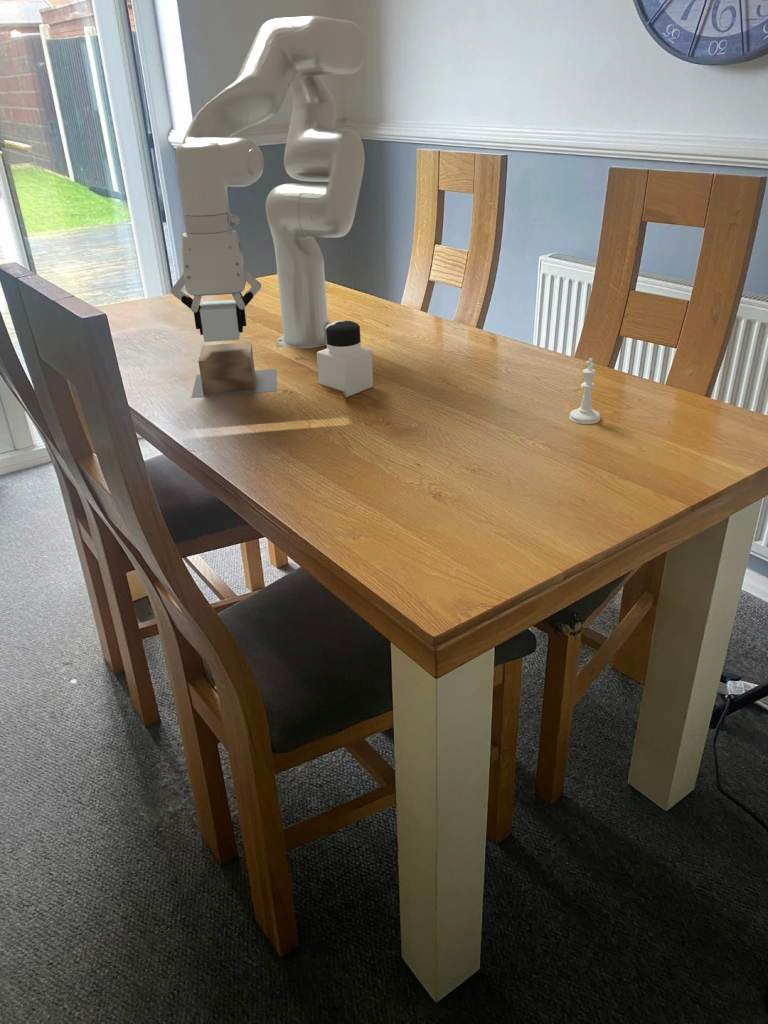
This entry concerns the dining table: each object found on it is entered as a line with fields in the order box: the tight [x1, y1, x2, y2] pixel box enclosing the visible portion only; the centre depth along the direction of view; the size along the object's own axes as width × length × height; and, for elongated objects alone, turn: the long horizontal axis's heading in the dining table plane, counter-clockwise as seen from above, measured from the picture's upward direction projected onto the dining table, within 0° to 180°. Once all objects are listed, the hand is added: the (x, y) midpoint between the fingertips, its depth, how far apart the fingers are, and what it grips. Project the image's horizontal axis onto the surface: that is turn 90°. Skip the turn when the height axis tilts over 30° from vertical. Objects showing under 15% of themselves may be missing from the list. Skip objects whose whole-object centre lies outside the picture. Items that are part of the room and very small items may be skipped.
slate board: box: [190, 368, 278, 399], centre depth 145 cm, size 15×12×1 cm
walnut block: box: [198, 341, 255, 394], centre depth 143 cm, size 9×9×6 cm
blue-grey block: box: [200, 299, 241, 343], centre depth 138 cm, size 6×6×6 cm
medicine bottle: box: [316, 320, 374, 398], centre depth 140 cm, size 7×7×12 cm
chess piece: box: [568, 357, 601, 425], centre depth 125 cm, size 5×5×10 cm
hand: (221, 330), depth 139 cm, fingers closed on blue-grey block, 6 cm apart
